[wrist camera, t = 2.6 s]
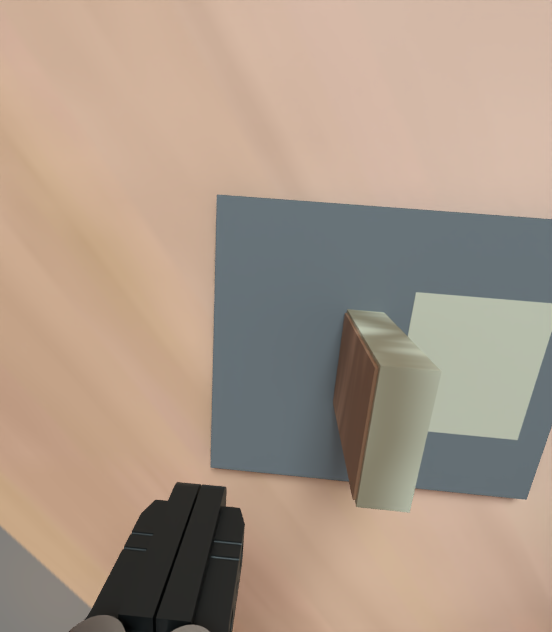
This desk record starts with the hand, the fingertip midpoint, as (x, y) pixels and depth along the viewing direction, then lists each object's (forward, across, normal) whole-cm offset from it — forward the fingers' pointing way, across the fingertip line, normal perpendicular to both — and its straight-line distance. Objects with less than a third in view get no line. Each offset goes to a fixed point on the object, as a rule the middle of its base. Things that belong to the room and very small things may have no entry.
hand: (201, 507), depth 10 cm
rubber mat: (+14, -9, 0) cm, 17 cm away
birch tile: (+13, -7, 0) cm, 15 cm away
